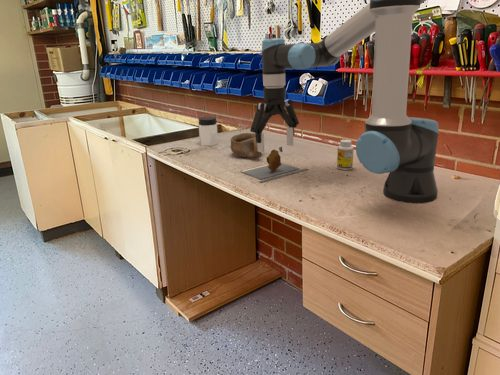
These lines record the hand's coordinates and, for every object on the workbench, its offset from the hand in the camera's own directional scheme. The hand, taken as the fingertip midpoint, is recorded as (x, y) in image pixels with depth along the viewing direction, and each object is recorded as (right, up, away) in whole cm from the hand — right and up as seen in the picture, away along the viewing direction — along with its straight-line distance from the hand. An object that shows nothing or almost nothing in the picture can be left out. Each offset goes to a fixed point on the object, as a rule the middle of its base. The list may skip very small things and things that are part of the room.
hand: (275, 148), depth 149 cm
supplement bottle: (+25, -7, +5) cm, 27 cm away
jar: (-28, +6, +46) cm, 55 cm away
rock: (0, -8, +3) cm, 8 cm away
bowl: (-9, -1, +24) cm, 26 cm away
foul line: (+3, -10, -2) cm, 10 cm away
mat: (-2, -8, +4) cm, 9 cm away
